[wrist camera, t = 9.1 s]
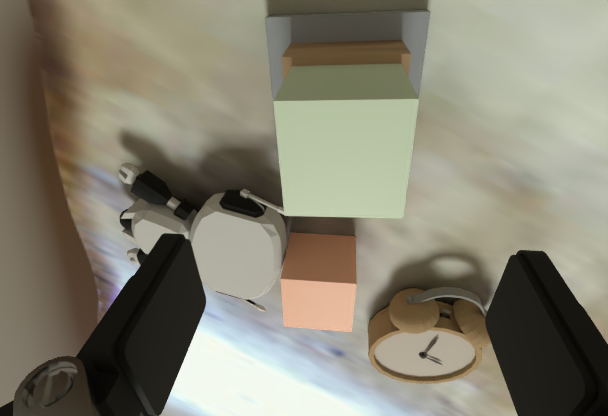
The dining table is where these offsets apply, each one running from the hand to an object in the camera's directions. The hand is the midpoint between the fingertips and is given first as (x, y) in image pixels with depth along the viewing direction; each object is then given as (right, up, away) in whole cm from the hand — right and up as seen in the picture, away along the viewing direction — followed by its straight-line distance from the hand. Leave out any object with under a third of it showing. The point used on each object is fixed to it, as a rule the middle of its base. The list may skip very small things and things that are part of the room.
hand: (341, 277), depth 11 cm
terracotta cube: (+1, -3, +24) cm, 24 cm away
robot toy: (-10, +1, +23) cm, 25 cm away
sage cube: (+1, +8, +11) cm, 13 cm away
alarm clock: (+12, -10, +28) cm, 32 cm away
